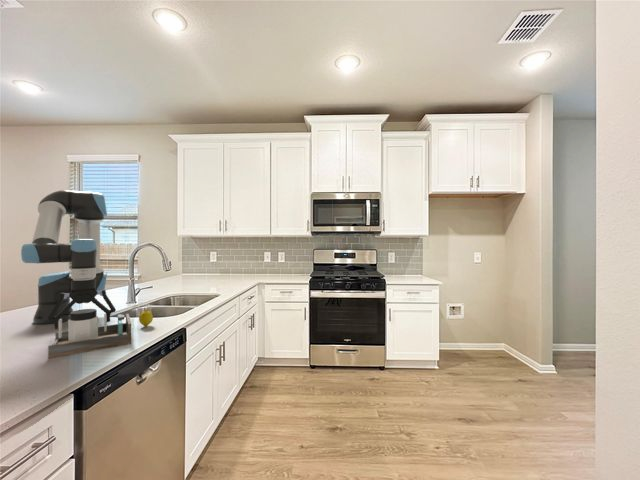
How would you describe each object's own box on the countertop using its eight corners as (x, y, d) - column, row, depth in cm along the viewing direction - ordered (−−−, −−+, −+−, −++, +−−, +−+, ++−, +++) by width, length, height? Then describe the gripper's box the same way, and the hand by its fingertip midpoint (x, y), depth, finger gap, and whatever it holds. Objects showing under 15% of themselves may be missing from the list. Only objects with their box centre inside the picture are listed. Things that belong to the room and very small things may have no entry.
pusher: (117, 331, 126) (117, 312, 126) (123, 330, 127) (123, 311, 127) (118, 341, 113) (118, 320, 113) (124, 340, 114) (124, 320, 114)
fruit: (155, 325, 138) (155, 308, 138) (145, 328, 133) (145, 311, 133) (146, 324, 140) (146, 307, 140) (136, 327, 135) (136, 310, 134)
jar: (66, 347, 107) (66, 315, 107) (70, 341, 114) (70, 310, 114) (97, 343, 112) (97, 312, 112) (98, 337, 119) (98, 307, 119)
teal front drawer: (55, 342, 115) (55, 322, 115) (128, 331, 129) (128, 313, 129) (48, 358, 100) (48, 335, 100) (131, 343, 115) (131, 323, 114)
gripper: (37, 282, 102) (37, 343, 103) (123, 277, 117) (122, 330, 117) (41, 280, 108) (41, 337, 109) (122, 275, 123) (122, 325, 123)
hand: (83, 333), depth 113 cm, fingers open, 13 cm apart
